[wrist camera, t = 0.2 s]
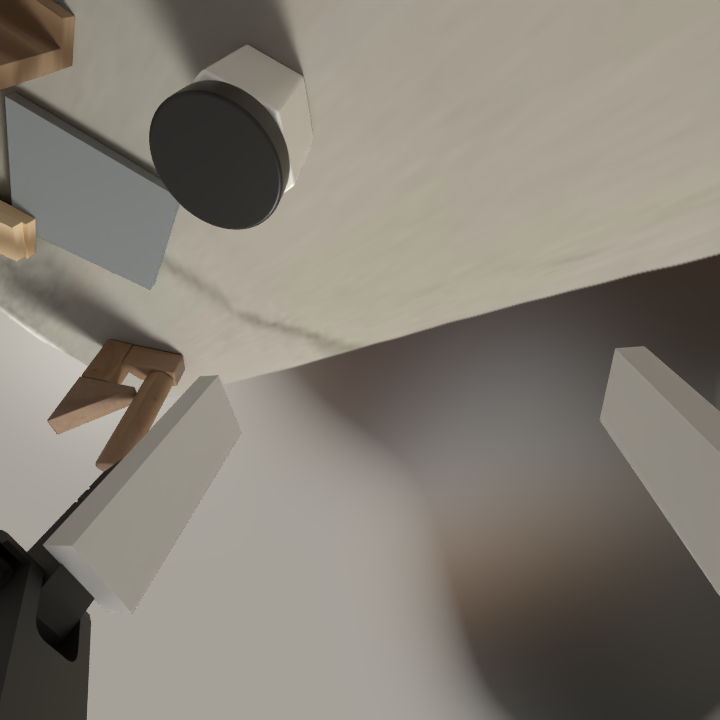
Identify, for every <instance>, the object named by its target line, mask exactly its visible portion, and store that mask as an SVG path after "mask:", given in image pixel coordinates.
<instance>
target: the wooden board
mask: <svg viewBox="0 0 720 720" xmlns="http://www.w3.org/2000/svg"><path fill="white" fill-rule="evenodd" d="M74 20H75V16H74V15H73V14H71V13H70V12H68V11H67V10H65V9H64V8H63V7H61V6H60V5H58V4H57V3H55V2H54V1H53V0H0V90H2V89H5V88H8V87H11V86H14V85H17V84H19V83H22V82H25V81H28V80H31V79H34V78H37V77H40V76H43V75H46V74H49V73H52V72H55V71H58V70H61V69H64V68H66V67H69V66H72V58H73V39H74Z"/></svg>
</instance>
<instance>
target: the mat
mask: <svg viewBox="0 0 720 720" xmlns="http://www.w3.org/2000/svg"><path fill="white" fill-rule="evenodd" d="M5 106H6V121H7V136H8V152H9V167H10V183H11V198H12V206H13V207H14V208H16V209H18V210H20V211H22V212H24V213H26V214H27V215H29V216H31V217H33V218H35V226H36V236H37V237H39V238H41V239H44V240H46V241H48V242H50V243H52V244H54V245H56V246H58V247H60V248H63V249H65V250H67V251H69V252H71V253H73V254H75V255H77V256H79V257H82V258H84V259H86V260H88V261H90V262H92V263H94V264H96V265H99V266H101V267H103V268H105V269H107V270H109V271H111V272H113V273H115V274H118V275H120V276H122V277H124V278H126V279H128V280H130V281H132V282H134V283H137V284H139V285H141V286H143V287H145V288H147V289H149V290H151V288H152V287H153V285H154V284H155V281H156V278H157V275H158V271H159V268H160V265H161V262H162V258H163V255H164V252H165V249H166V246H167V242H168V239H169V236H170V233H171V229H172V226H173V223H174V220H175V216H176V213H177V210H178V207H179V203H178V202H177V200H176V199H175V198H174V197H173V196H172V195H171V194H170V192H169V191H168V190H167V188H166V187H165V185H164V184H163V182H162V180H161V179H160V178H159V177H157V176H155V175H153V174H152V173H150V172H148V171H147V170H145V169H143V168H142V167H140V166H138V165H137V164H135V163H133V162H132V161H130V160H128V159H127V158H125V157H123V156H121V155H120V154H118V153H116V152H115V151H113V150H111V149H110V148H108V147H106V146H105V145H103V144H101V143H100V142H98V141H96V140H95V139H93V138H91V137H89V136H88V135H86V134H84V133H83V132H81V131H79V130H78V129H76V128H74V127H73V126H71V125H69V124H68V123H66V122H64V121H63V120H61V119H59V118H57V117H56V116H54V115H52V114H51V113H49V112H47V111H46V110H44V109H42V108H41V107H39V106H37V105H36V104H34V103H32V102H31V101H29V100H27V99H25V98H24V97H22V96H20V95H19V94H17V93H12V94H9V95H6V96H5Z"/></svg>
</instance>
